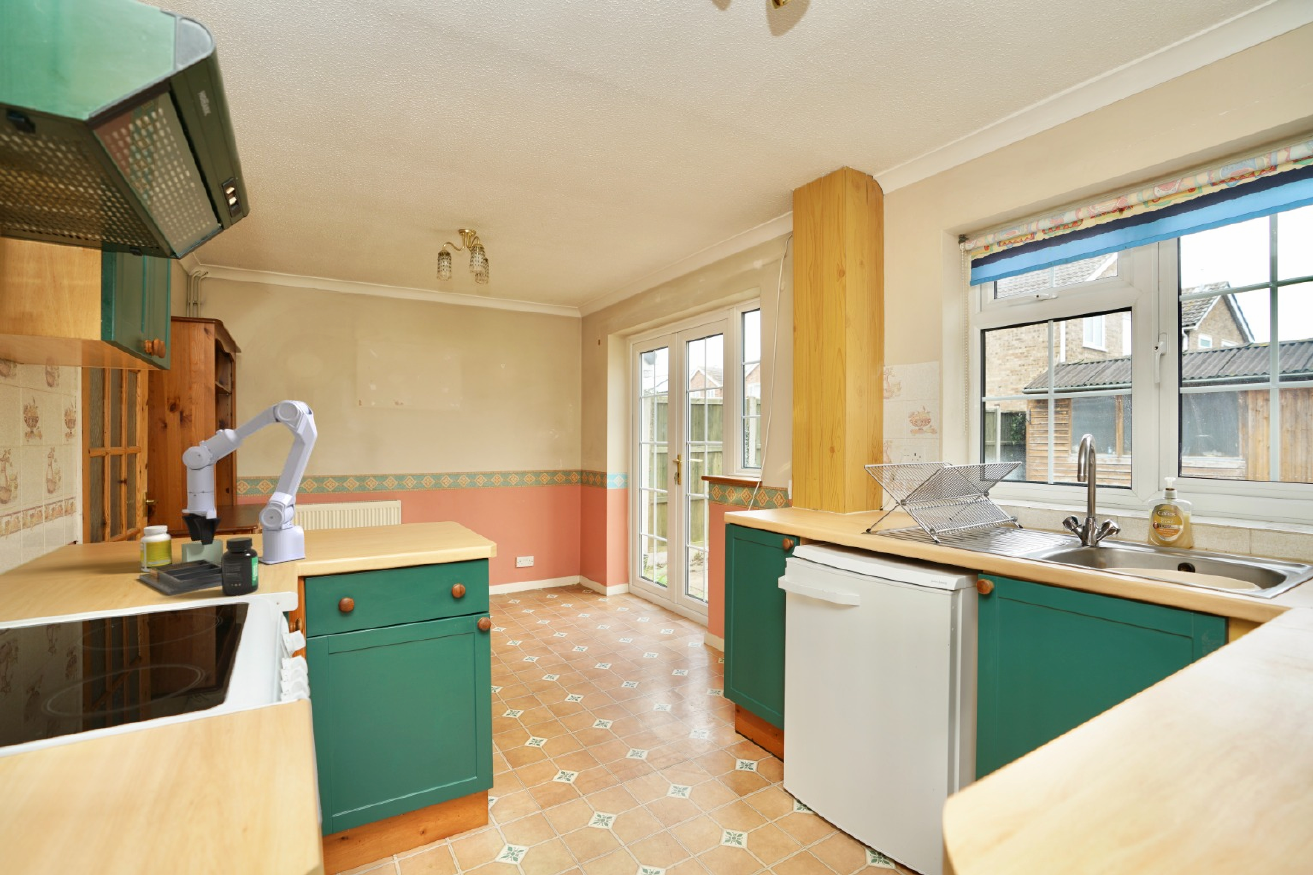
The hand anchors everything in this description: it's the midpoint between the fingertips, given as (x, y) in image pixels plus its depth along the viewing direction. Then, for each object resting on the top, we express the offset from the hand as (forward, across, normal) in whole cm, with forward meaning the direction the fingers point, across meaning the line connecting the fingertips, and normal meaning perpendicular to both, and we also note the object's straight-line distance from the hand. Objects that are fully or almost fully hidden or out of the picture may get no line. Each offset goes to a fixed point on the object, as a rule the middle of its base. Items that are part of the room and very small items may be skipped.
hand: (201, 542), depth 161 cm
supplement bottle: (+6, +36, -4) cm, 37 cm away
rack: (+6, +16, -7) cm, 18 cm away
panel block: (+6, 0, 0) cm, 6 cm away
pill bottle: (+6, -3, -9) cm, 11 cm away
